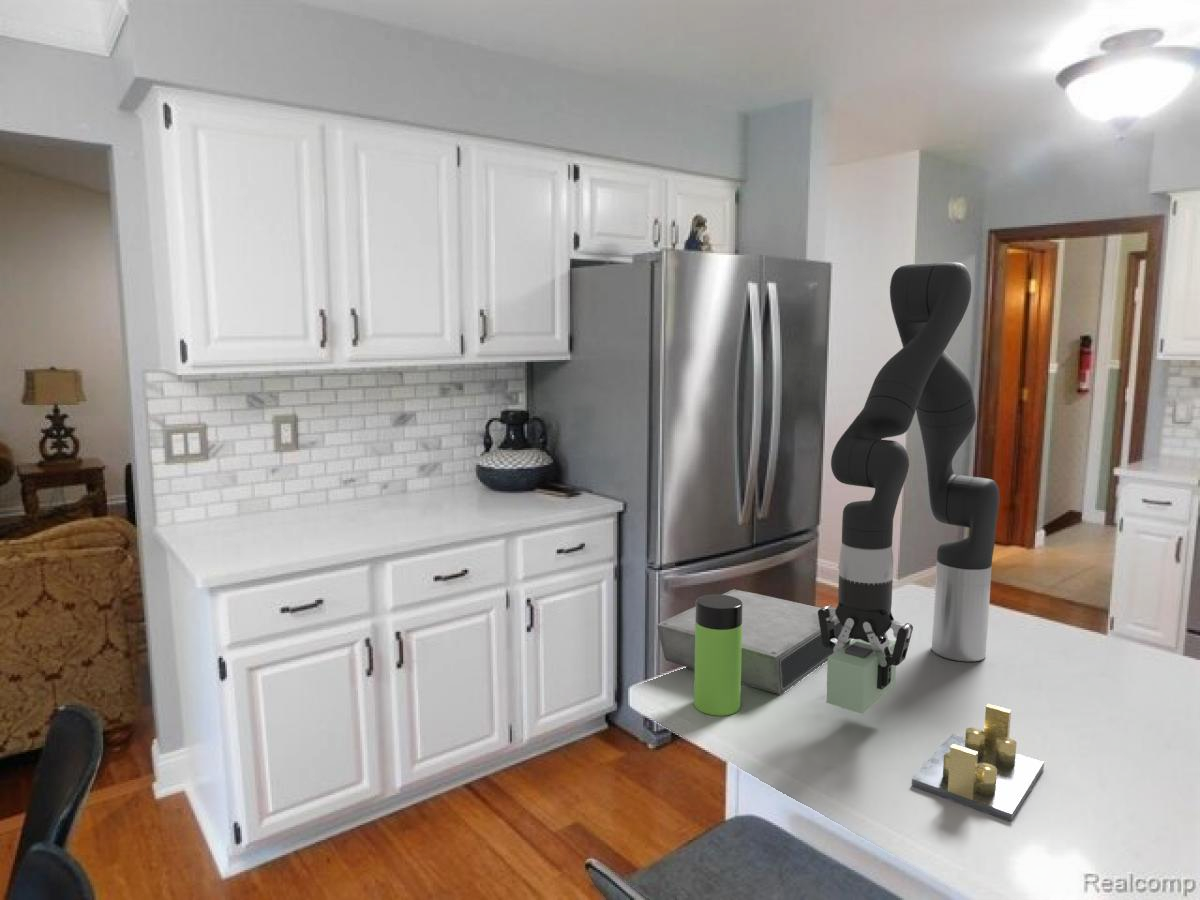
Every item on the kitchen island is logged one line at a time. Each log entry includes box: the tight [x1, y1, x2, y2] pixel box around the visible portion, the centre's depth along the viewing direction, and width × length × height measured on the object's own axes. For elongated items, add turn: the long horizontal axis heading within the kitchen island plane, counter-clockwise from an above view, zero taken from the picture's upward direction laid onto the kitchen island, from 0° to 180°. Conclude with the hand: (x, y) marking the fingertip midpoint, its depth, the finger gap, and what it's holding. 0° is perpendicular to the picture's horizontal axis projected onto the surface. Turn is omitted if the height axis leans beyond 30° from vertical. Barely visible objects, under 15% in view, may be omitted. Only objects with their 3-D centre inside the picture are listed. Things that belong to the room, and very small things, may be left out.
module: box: [826, 639, 897, 715], centre depth 120 cm, size 12×6×8 cm, turn 139°
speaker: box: [656, 589, 843, 696], centre depth 148 cm, size 24×8×30 cm
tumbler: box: [693, 593, 743, 717], centre depth 127 cm, size 8×8×17 cm
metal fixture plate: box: [911, 703, 1045, 822], centre depth 107 cm, size 16×12×7 cm
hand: (861, 681), depth 121 cm, fingers closed on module, 5 cm apart
